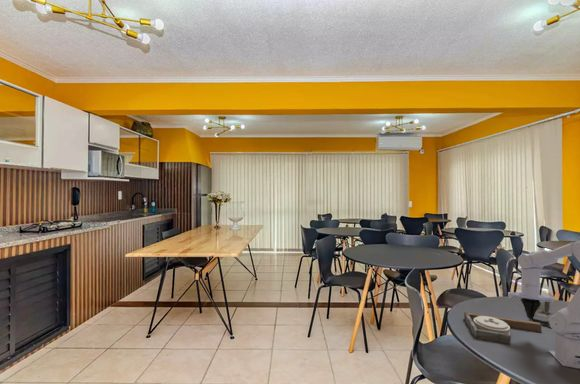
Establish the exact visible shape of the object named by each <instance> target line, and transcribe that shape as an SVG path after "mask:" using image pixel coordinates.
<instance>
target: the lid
mask: <svg viewBox="0 0 580 384" xmlns="http://www.w3.org/2000/svg"><path fill="white" fill-rule="evenodd" d="M489 316H490V315H488V316H478V317H476V318H474V319H473V320H474V324H475V326H476V327H477V329H480V330H487V331H493V332H500V333H503V334H506V335H510V336H511V332H510V329H511V327H510V326H509V325H508V324H507V323H505V322H504V321H502V320H500V319H497V318H493V317H489Z"/></svg>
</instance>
